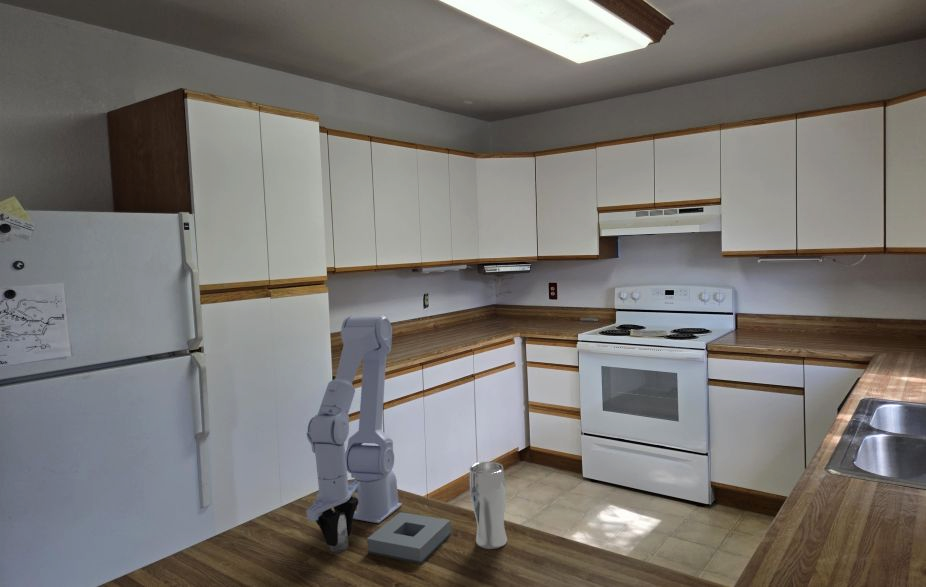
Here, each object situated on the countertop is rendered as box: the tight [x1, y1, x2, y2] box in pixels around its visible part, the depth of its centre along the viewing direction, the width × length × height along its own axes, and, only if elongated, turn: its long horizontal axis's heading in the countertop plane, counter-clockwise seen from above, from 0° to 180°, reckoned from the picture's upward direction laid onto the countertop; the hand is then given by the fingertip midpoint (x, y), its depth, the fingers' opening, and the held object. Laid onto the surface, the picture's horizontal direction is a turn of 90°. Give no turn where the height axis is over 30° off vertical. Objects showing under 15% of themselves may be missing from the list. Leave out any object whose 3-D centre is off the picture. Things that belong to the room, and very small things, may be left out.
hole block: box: [366, 511, 452, 565], centre depth 124 cm, size 12×12×3 cm
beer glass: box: [469, 461, 508, 550], centre depth 122 cm, size 7×7×15 cm
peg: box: [329, 510, 349, 553], centre depth 124 cm, size 4×4×7 cm
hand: (338, 539), depth 125 cm, fingers closed on peg, 4 cm apart
